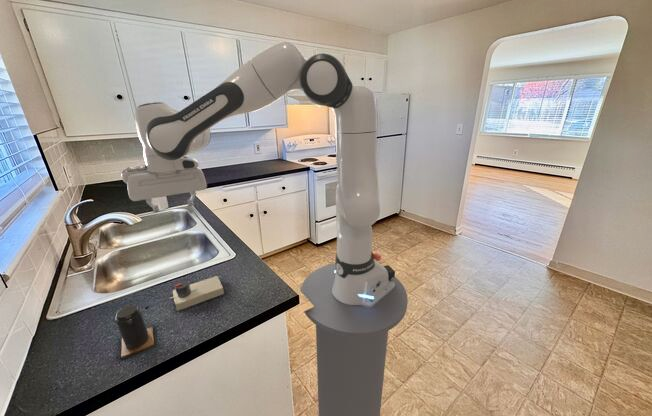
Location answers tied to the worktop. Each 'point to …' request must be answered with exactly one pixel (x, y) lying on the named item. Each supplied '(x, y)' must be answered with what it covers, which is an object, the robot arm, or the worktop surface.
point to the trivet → (128, 352)
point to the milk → (160, 202)
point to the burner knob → (183, 289)
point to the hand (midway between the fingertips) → (174, 208)
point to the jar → (132, 326)
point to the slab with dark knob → (199, 293)
